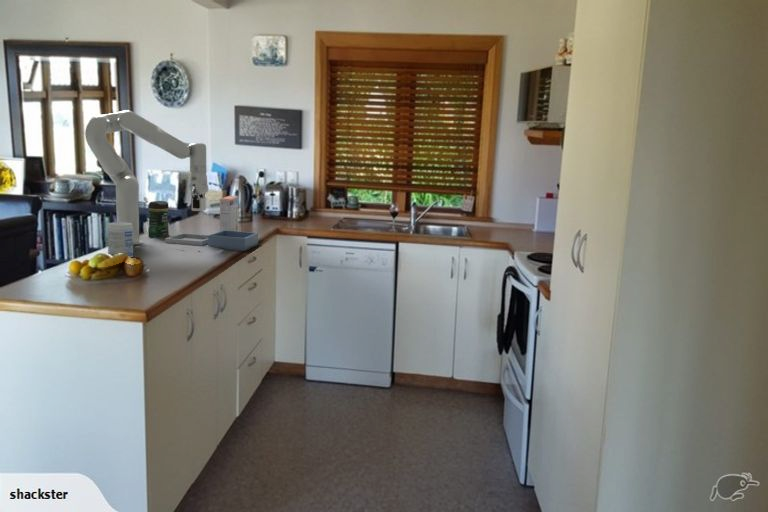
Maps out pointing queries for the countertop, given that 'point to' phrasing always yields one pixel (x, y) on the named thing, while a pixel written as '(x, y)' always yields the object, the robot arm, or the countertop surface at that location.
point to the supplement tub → (120, 238)
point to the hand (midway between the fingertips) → (198, 207)
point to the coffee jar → (158, 219)
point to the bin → (233, 240)
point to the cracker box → (229, 213)
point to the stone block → (202, 204)
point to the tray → (188, 239)
